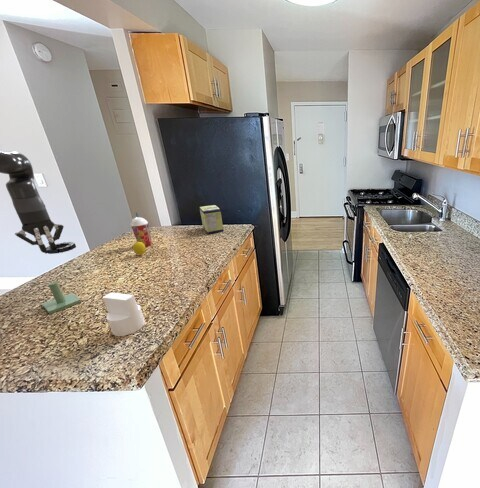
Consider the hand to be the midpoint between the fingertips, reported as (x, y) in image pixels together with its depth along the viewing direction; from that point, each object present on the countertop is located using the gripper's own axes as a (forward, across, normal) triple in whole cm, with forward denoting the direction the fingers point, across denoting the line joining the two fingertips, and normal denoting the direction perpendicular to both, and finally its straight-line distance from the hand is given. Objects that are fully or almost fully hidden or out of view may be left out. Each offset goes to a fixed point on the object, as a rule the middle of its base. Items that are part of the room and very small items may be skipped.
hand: (49, 251), depth 102 cm
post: (+17, +5, +13) cm, 22 cm away
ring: (0, -3, 0) cm, 3 cm away
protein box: (+17, -81, -14) cm, 84 cm away
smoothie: (+17, -42, -23) cm, 51 cm away
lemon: (+17, -34, -10) cm, 39 cm away
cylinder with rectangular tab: (+17, -3, +49) cm, 52 cm away
